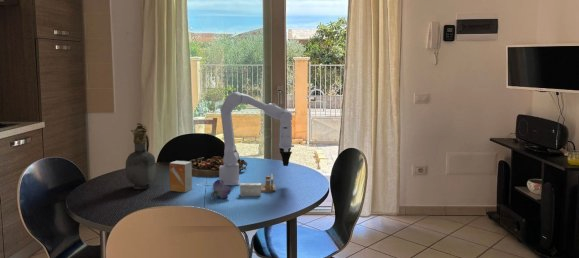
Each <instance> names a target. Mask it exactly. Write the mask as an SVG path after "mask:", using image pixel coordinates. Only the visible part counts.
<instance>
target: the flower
mask: <svg viewBox="0 0 579 258" xmlns="http://www.w3.org/2000/svg"><path fill="white" fill-rule="evenodd" d="M223 184H224V182H220V180H219V178H217V179H216V180H215V181H214V182H213V184H212V188H213V191H212V192H211V195H210V200H211V201H213V200H214V197H215V195H216V196H217V197H219V198H221V199H227V198H228V196H229V195H230V193H232V188H231V187H230V185H223Z"/></svg>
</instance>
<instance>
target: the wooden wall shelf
mask: <svg viewBox="0 0 579 258" xmlns="http://www.w3.org/2000/svg"><path fill="white" fill-rule="evenodd" d="M273 191H275V192H276V183H274V174H273V173H271V174H270V175H266V176H265V183H261V193H274V192H273Z"/></svg>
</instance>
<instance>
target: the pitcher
mask: <svg viewBox="0 0 579 258" xmlns="http://www.w3.org/2000/svg"><path fill="white" fill-rule="evenodd" d="M136 125H137V126H136V127H135V128H134V129H131V130H130V132H132V135H133V144H134V151H133V152H131V153H130V154H128V156H127V158H126V161H125V176H126V177H125V178H126V180H127V182H129V183H130V184H133V186H132V187H133V189H134V190H144V189H145V190H146V189H148V188H150V186H151V185H150V184H149V183H152V181H153V180H154V178H155V176H156V169H157V168H156V167H157V166H156V165H157V164H156V157H155V156H154V154H152V153H151V152H149V149H150V148H149V147H150V138H149V137H150V136H149V134H148V133H147V132H148V131H149V130H148V128H147V126H145V125H144V124H142V123H141V122H137V123H136Z"/></svg>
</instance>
